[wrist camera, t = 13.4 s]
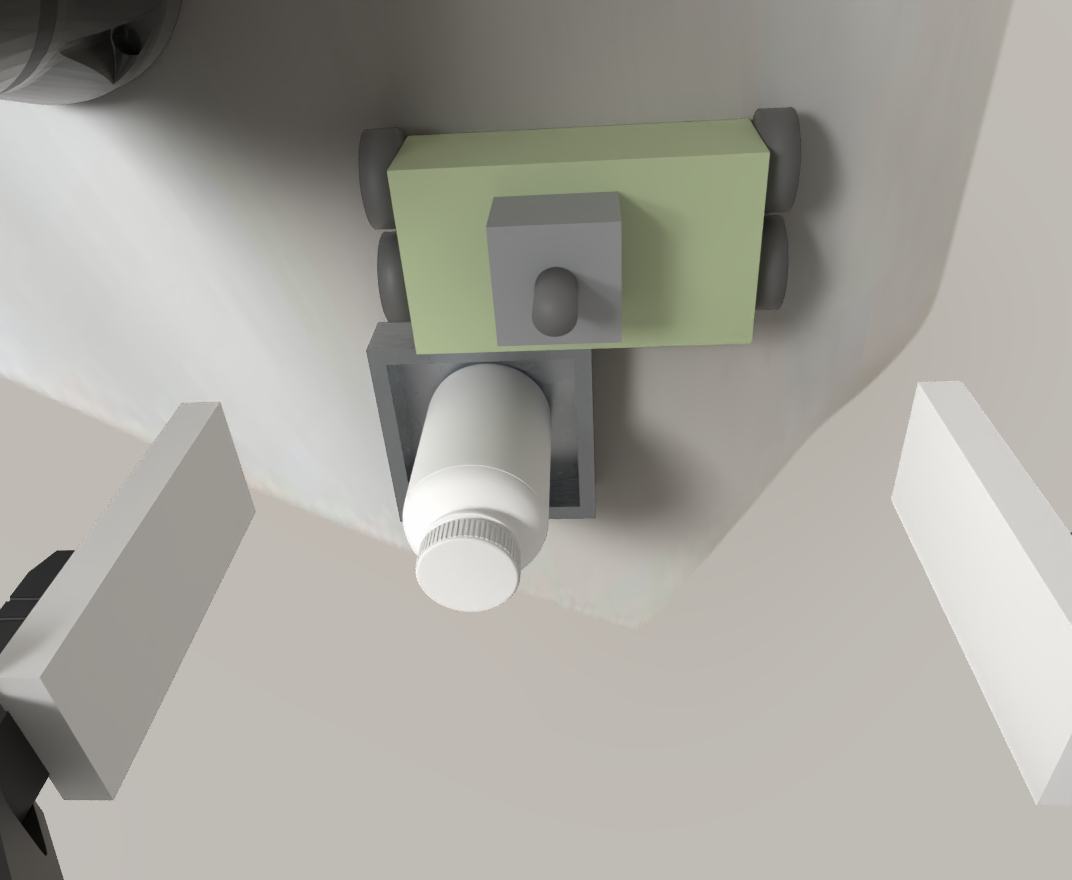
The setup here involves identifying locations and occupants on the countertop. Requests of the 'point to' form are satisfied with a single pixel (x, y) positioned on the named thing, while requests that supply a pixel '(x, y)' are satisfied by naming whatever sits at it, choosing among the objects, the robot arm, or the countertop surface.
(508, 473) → the pill bottle
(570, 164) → the green roller box
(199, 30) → the countertop surface
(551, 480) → the grey square tray
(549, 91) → the countertop surface
